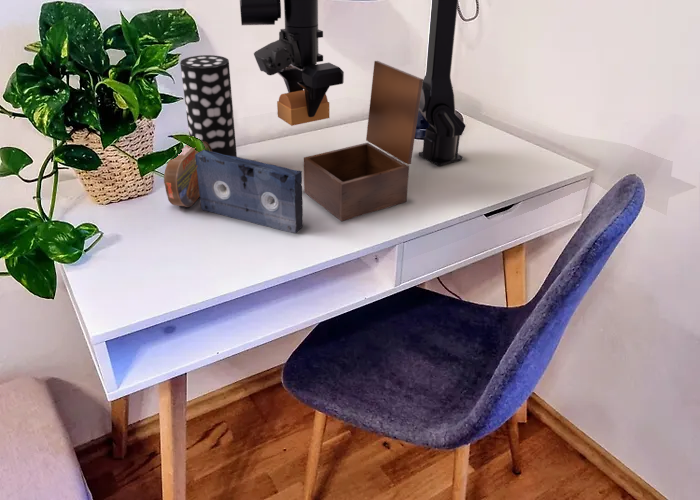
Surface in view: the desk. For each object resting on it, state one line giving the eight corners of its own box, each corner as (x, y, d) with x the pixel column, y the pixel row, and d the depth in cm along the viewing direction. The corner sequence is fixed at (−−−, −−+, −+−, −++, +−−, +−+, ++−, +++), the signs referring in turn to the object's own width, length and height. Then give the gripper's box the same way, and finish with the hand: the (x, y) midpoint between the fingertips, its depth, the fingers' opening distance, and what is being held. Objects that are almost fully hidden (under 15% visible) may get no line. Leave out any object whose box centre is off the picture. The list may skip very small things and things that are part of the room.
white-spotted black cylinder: (184, 171, 118) (170, 64, 107) (209, 155, 124) (198, 53, 114) (222, 179, 115) (211, 70, 104) (245, 162, 122) (237, 58, 111)
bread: (314, 109, 119) (314, 83, 117) (329, 118, 116) (329, 91, 113) (277, 116, 116) (276, 90, 113) (291, 126, 112) (290, 98, 109)
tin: (183, 215, 103) (176, 168, 98) (165, 213, 103) (157, 167, 99) (217, 177, 115) (213, 134, 111) (201, 176, 116) (196, 133, 112)
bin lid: (419, 79, 98) (423, 79, 98) (374, 60, 106) (377, 60, 107) (407, 164, 105) (410, 163, 105) (365, 140, 113) (369, 140, 114)
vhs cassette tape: (304, 227, 100) (302, 170, 95) (294, 235, 98) (292, 177, 93) (210, 202, 107) (204, 148, 102) (200, 209, 105) (193, 154, 100)
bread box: (341, 221, 102) (341, 184, 99) (304, 192, 111) (303, 157, 107) (406, 201, 108) (409, 166, 105) (366, 175, 117) (367, 142, 114)
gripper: (235, 18, 110) (242, 104, 118) (285, 41, 97) (288, 136, 105) (291, 12, 115) (293, 95, 123) (346, 33, 102) (344, 124, 110)
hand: (303, 112), depth 115 cm, fingers closed on bread, 5 cm apart
